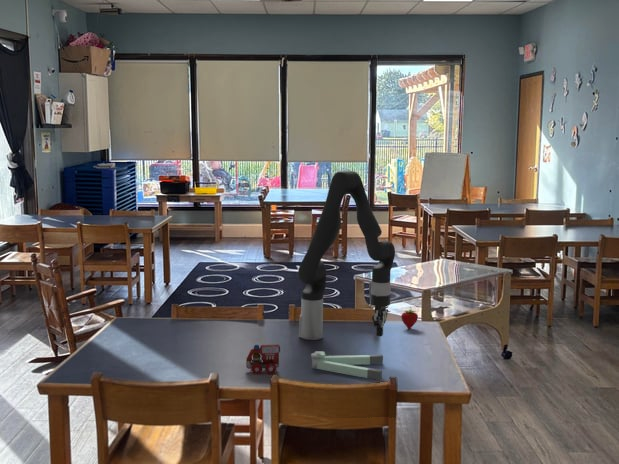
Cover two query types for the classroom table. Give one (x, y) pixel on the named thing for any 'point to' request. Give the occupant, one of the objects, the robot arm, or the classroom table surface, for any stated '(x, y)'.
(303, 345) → the classroom table surface
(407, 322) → the strawberry
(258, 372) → the toy fire truck
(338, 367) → the bar
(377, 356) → the tongs arm
